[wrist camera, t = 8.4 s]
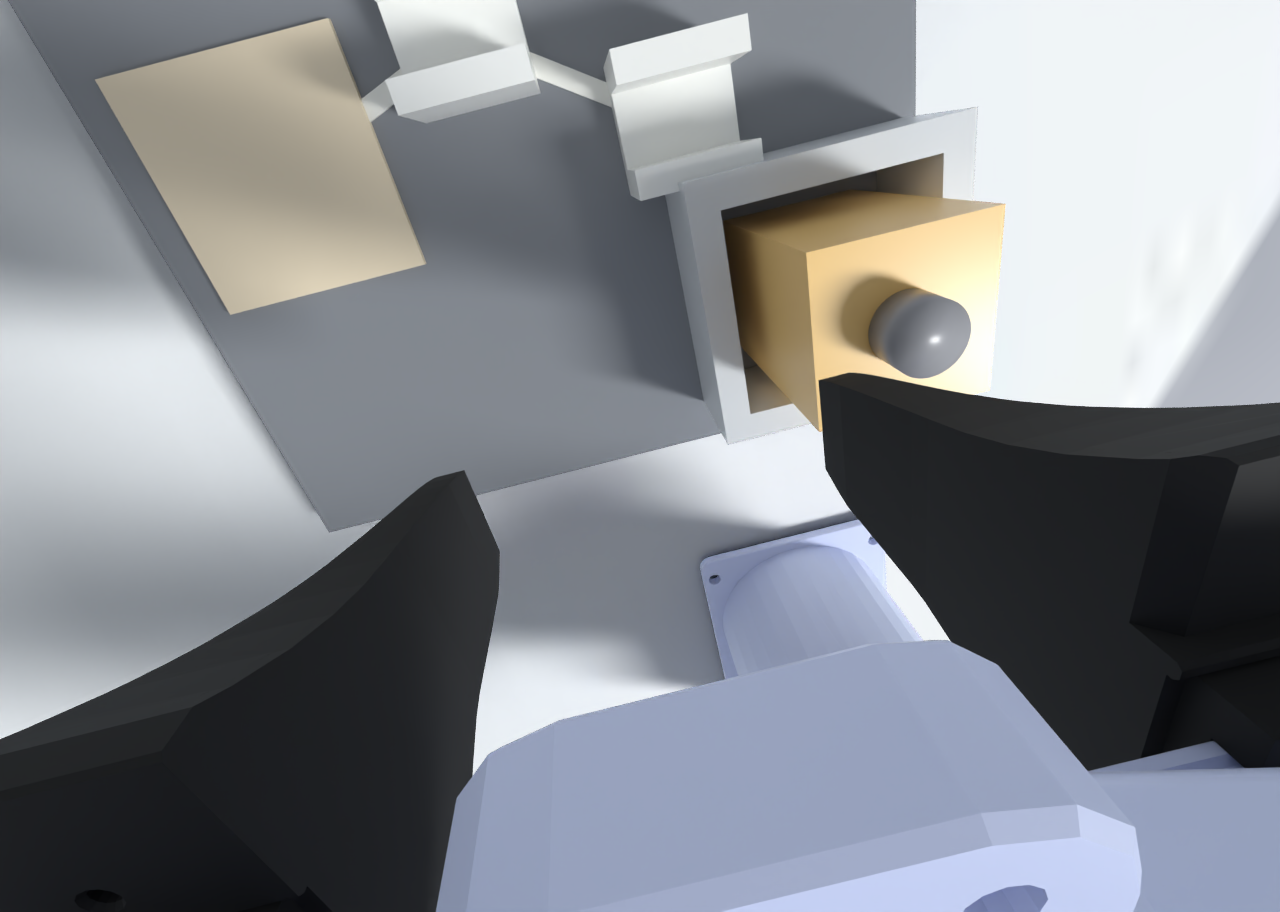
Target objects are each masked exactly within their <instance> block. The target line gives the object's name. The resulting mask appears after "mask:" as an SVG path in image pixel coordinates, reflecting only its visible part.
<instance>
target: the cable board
mask: <svg viewBox="0 0 1280 912" xmlns="http://www.w3.org/2000/svg"><path fill="white" fill-rule="evenodd" d="M8 1H9V3H10V4H11V6H12V8H13V9H14V11H15V13H16V14H17V16H18V18H19V19H20V21H21V23H22V24H23V26H24V28H25V29H26V31H27V33H28V34H29V36H30V38H31V39H32V41H33V43H34V44H35V46H36V48H37V49H38V51H39V52H40V54H41V56H42V57H43V59H44V61H45V62H46V64H47V66H48V67H49V69H50V71H51V72H52V74H53V76H54V77H55V79H56V81H57V82H58V84H59V86H60V87H61V89H62V91H63V92H64V94H65V96H66V97H67V99H68V101H69V102H70V104H71V105H72V107H73V109H74V110H75V112H76V114H77V115H78V117H79V119H80V120H81V122H82V124H83V125H84V127H85V129H86V130H87V132H88V134H89V135H90V137H91V139H92V140H93V142H94V144H95V145H96V147H97V149H98V150H99V152H100V154H101V155H102V157H103V158H104V160H105V162H106V163H107V165H108V167H109V168H110V170H111V172H112V173H113V175H114V177H115V178H116V180H117V182H118V183H119V185H120V187H121V188H122V190H123V192H124V193H125V195H126V197H127V198H128V200H129V202H130V203H131V205H132V207H133V208H134V210H135V211H136V213H137V215H138V216H139V218H140V220H141V221H142V223H143V225H144V226H145V228H146V230H147V231H148V233H149V235H150V236H151V238H152V240H153V241H154V243H155V245H156V246H157V248H158V250H159V251H160V253H161V255H162V256H163V258H164V260H165V261H166V263H167V265H168V266H169V268H170V269H171V271H172V273H173V274H174V276H175V278H176V279H177V281H178V283H179V284H180V286H181V288H182V289H183V291H184V293H185V294H186V296H187V298H188V299H189V301H190V303H191V304H192V306H193V308H194V309H195V311H196V313H197V314H198V316H199V318H200V319H201V321H202V322H203V324H204V326H205V327H206V329H207V331H208V332H209V334H210V336H211V337H212V339H213V341H214V342H215V344H216V346H217V347H218V349H219V351H220V352H221V354H222V356H223V357H224V359H225V361H226V362H227V364H228V366H229V367H230V369H231V371H232V372H233V374H234V375H235V377H236V379H237V380H238V382H239V384H240V385H241V387H242V389H243V390H244V392H245V394H246V395H247V397H248V399H249V400H250V402H251V404H252V405H253V407H254V409H255V410H256V412H257V414H258V415H259V417H260V419H261V420H262V422H263V424H264V425H265V427H266V428H267V430H268V432H269V433H270V435H271V437H272V438H273V440H274V442H275V443H276V445H277V447H278V448H279V450H280V452H281V453H282V455H283V457H284V458H285V460H286V462H287V463H288V465H289V467H290V468H291V470H292V472H293V473H294V475H295V477H296V478H297V480H298V482H299V483H300V485H301V486H302V488H303V490H304V491H305V493H306V495H307V496H308V498H309V500H310V501H311V503H312V505H313V506H314V508H315V510H316V511H317V513H318V515H319V516H320V518H321V520H322V521H323V523H324V525H325V526H326V528H327V530H328V531H329V532H333V531H337V530H341V529H345V528H348V527H352V526H356V525H360V524H364V523H368V522H372V521H376V520H380V519H383V518H384V517H386V516H387V515H388V514H389V513H390V512H391V511H393V510H394V509H395V508H396V507H397V506H398V505H400V504H401V503H402V502H403V501H404V500H405V499H407V498H408V497H409V496H410V495H411V494H413V493H414V492H415V491H416V490H417V489H419V488H420V487H421V486H423V485H424V484H425V483H427V482H428V481H430V480H432V479H433V478H435V477H439V476H443V475H447V474H451V473H455V472H459V471H463V470H465V473H466V475H467V477H468V480H469V482H470V484H471V487H472V489H473V491H474V493H475V495H479V494H483V493H487V492H491V491H495V490H499V489H503V488H506V487H510V486H514V485H518V484H522V483H526V482H530V481H534V480H538V479H542V478H546V477H550V476H554V475H558V474H562V473H566V472H570V471H574V470H578V469H582V468H586V467H589V466H593V465H597V464H601V463H605V462H609V461H613V460H617V459H621V458H625V457H629V456H633V455H637V454H641V453H645V452H649V451H653V450H657V449H661V448H665V447H668V446H672V445H676V444H680V443H684V442H688V441H692V440H696V439H700V438H704V437H708V436H712V435H716V434H720V433H722V435H723V437H724V438H725V440H726V442H727V444H728V445H729V444H733V443H737V442H741V441H745V440H749V439H753V438H757V437H761V436H765V435H769V434H773V433H776V432H780V431H784V430H788V429H792V428H796V427H800V426H804V425H808V424H811V422H810V421H809V420H808V419H807V418H806V417H805V416H804V415H803V414H802V413H801V412H800V410H799V409H798V408H797V407H796V406H795V405H794V404H793V403H792V402H791V401H790V400H789V398H788V397H787V396H786V395H785V394H784V393H783V392H782V391H781V390H780V389H779V388H778V387H777V385H776V384H775V383H774V382H773V381H772V380H771V379H770V378H769V377H768V376H767V375H766V373H765V372H764V371H763V370H762V369H761V368H760V367H759V366H758V365H757V364H756V363H755V361H754V360H753V359H752V358H751V357H750V356H749V355H748V354H747V353H746V352H745V351H744V349H743V348H742V347H741V346H740V339H739V332H738V325H737V319H736V312H735V305H734V298H733V291H732V285H731V278H730V271H729V263H728V256H727V249H726V241H725V234H724V227H723V221H724V220H728V219H732V218H736V217H740V216H745V215H749V214H753V213H757V212H761V211H765V210H769V209H773V208H777V207H781V206H785V205H789V204H793V203H797V202H801V201H805V200H810V199H814V198H818V197H822V196H826V195H830V194H834V193H838V192H842V191H846V190H850V189H851V190H862V191H873V192H883V193H894V194H905V195H916V196H926V197H937V198H948V199H959V200H970V201H973V196H974V176H975V155H976V135H977V115H978V107H974V108H967V109H960V110H953V111H946V112H938V113H931V114H924V115H917V116H915V92H916V0H8Z"/></svg>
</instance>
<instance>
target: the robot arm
mask: <svg viewBox="0 0 1280 912" xmlns="http://www.w3.org/2000/svg"><path fill="white" fill-rule="evenodd" d="M818 381H819V393H820V406H821V418H822V430H823V442H824V455H825V467H826V470H827V472H828V474H829V476H830V477H831V479H832V481H833V483H834V484H835V486H836V488H837V490H838V491H839V493H840V495H841V496H842V498H843V499H844V501H845V503H846V504H847V506H848V507H849V508H850V510H851V511H852V512H853V513H854V515H855V516H856V517H857V518H858V520H854V521H850V522H846V523H842V524H838V525H834V526H830V527H826V528H822V529H818V530H814V531H810V532H806V533H802V534H798V535H794V536H790V537H786V538H782V539H778V540H774V541H770V542H766V543H762V544H758V545H754V546H750V547H746V548H742V549H738V550H734V551H730V552H726V553H722V554H718V555H714V556H710V557H707V558H705V559H704V560H703V561H702V562H701V564H700V571H701V576H702V580H703V584H704V589H705V593H706V598H707V602H708V606H709V611H710V615H711V620H712V624H713V629H714V633H715V637H716V642H717V646H718V651H719V655H720V659H721V664H722V668H723V673H724V677H725V679H724V680H720V681H716V682H712V683H708V684H704V685H700V686H696V687H692V688H688V689H684V690H680V691H676V692H672V693H668V694H664V695H659V696H655V697H651V698H647V699H643V700H639V701H635V702H631V703H627V704H623V705H619V706H615V707H611V708H607V709H603V710H599V711H595V712H591V713H587V714H583V715H579V716H575V717H571V718H567V719H563V720H559V721H557V722H554V723H552V724H550V725H548V726H546V727H544V728H541V729H539V730H537V731H535V732H533V733H531V734H528V735H526V736H524V737H522V738H520V739H518V740H515V741H513V742H511V743H509V744H507V745H505V746H502V747H501V748H499V749H497V750H495V751H493V752H492V753H490V754H488V756H487V757H486V758H485V760H484V761H483V763H482V764H481V765H480V767H479V768H478V769H477V771H476V772H475V774H474V775H473V776H472V773H473V757H474V743H475V730H476V716H477V708H478V701H479V694H480V688H481V683H482V678H483V673H484V667H485V662H486V657H487V652H488V647H489V641H490V636H491V631H492V626H493V620H494V615H495V609H496V604H497V598H498V589H499V549H498V546H497V544H496V542H495V539H494V537H493V535H492V533H491V530H490V528H489V526H488V523H487V521H486V519H485V516H484V514H483V512H482V510H481V507H480V505H479V503H478V500H477V498H476V496H475V493H474V491H473V489H472V487H471V484H470V482H469V480H468V477H467V475H466V473H465V470H463V471H459V472H455V473H451V474H447V475H443V476H439V477H435V478H433V479H432V480H430V481H428V482H427V483H425V484H424V485H423V486H421V487H420V488H419V489H417V490H416V491H415V492H414V493H413V494H411V495H410V496H409V497H408V498H407V499H405V500H404V501H403V502H402V503H401V504H400V505H398V506H397V507H396V508H395V509H394V510H393V511H391V512H390V513H389V514H388V515H387V516H386V517H384V518H383V519H382V520H381V521H380V522H379V523H377V524H376V525H375V526H374V527H373V528H372V529H370V530H369V531H368V532H367V533H366V534H365V535H363V536H362V537H361V538H360V539H358V540H357V541H356V542H355V543H353V544H352V545H351V546H350V547H348V548H347V549H346V550H345V551H343V552H342V553H341V554H340V555H338V556H337V557H336V558H335V559H333V560H332V561H331V562H330V563H328V564H327V565H326V566H325V567H323V568H322V569H321V570H319V571H318V572H317V573H315V574H314V575H312V576H311V577H310V578H308V579H307V580H305V581H304V582H303V583H301V584H300V585H298V586H297V587H295V588H294V589H292V590H291V591H289V592H288V593H286V594H285V595H284V596H282V597H281V598H279V599H278V600H276V601H275V602H273V603H272V604H270V605H268V606H267V607H265V608H264V609H262V610H260V611H259V612H257V613H255V614H254V615H252V616H250V617H249V618H247V619H245V620H243V621H242V622H240V623H238V624H237V625H235V626H233V627H232V628H230V629H228V630H227V631H225V632H223V633H222V634H220V635H218V636H216V637H215V638H213V639H211V640H210V641H208V642H206V643H204V644H203V645H201V646H199V647H197V648H195V649H193V650H191V651H190V652H188V653H186V654H184V655H182V656H180V657H178V658H176V659H174V660H173V661H171V662H169V663H167V664H165V665H163V666H161V667H159V668H157V669H155V670H153V671H151V672H149V673H147V674H145V675H143V676H141V677H139V678H137V679H135V680H133V681H131V682H129V683H127V684H125V685H122V686H120V687H118V688H116V689H114V690H112V691H110V692H108V693H106V694H103V695H101V696H99V697H97V698H94V699H92V700H90V701H88V702H85V703H83V704H81V705H78V706H76V707H74V708H72V709H69V710H67V711H65V712H63V713H60V714H58V715H56V716H54V717H51V718H49V719H47V720H44V721H42V722H40V723H38V724H35V725H33V726H31V727H29V728H26V729H24V730H22V731H19V732H17V733H14V734H12V735H10V736H7V737H5V738H2V739H0V912H1280V403H1269V404H1256V405H1238V406H1213V407H1190V408H1189V407H1187V408H1119V407H1085V406H1066V405H1054V404H1043V403H1032V402H1021V401H1012V400H1004V399H997V398H991V397H984V396H978V395H972V394H965V393H960V392H954V391H949V390H944V389H939V388H933V387H929V386H924V385H919V384H914V383H909V382H905V381H900V380H895V379H890V378H886V377H881V376H875V375H869V374H863V373H845V374H841V375H837V376H833V377H829V378H825V379H821V380H818ZM871 536H872V537H873V538H872V539H869V538H870V537H871ZM886 554H887V555H888V556H889V557H890V558H891V560H892V561H893V562H894V563H895V564H896V566H897V567H898V568H899V569H900V570H901V572H902V573H903V574H904V575H905V577H906V578H907V579H908V580H909V581H910V583H911V584H912V585H913V586H914V588H915V589H916V590H917V592H918V593H919V594H920V596H921V597H922V598H923V600H924V601H925V602H926V604H927V605H928V607H929V608H930V610H931V612H932V613H933V615H934V616H935V618H936V619H937V621H938V622H939V624H940V625H941V627H942V628H943V630H944V632H945V633H946V635H947V636H948V638H949V639H950V641H951V642H950V641H948V640H928V641H923V639H922V638H921V636H920V635H919V634H918V632H917V631H916V630H915V628H914V627H913V626H912V624H911V623H910V622H909V620H908V619H907V617H906V616H905V615H904V613H903V612H902V611H901V609H900V608H899V607H898V605H897V604H896V602H895V601H894V600H893V598H892V597H891V596H890V594H889V593H888V592H887V590H886ZM713 575H718V576H717V577H716V578H714V579H710V577H711V576H713Z"/></svg>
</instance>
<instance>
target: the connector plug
mask: <svg viewBox="0 0 1280 912" xmlns="http://www.w3.org/2000/svg"><path fill="white" fill-rule="evenodd" d="M1004 216H1005V204H1002V203H991V202H980V201H970V200H959V199H948V198H937V197H926V196H916V195H905V194H894V193H883V192H873V191H862V190H851V189H850V190H846V191H842V192H838V193H834V194H830V195H826V196H822V197H818V198H814V199H810V200H805V201H801V202H797V203H793V204H789V205H785V206H781V207H777V208H773V209H769V210H765V211H761V212H757V213H753V214H749V215H745V216H740V217H736V218H732V219H728V220H724V221H723V227H724V234H725V241H726V249H727V256H728V263H729V271H730V278H731V285H732V291H733V298H734V305H735V312H736V319H737V325H738V332H739V339H740V346H741V347H742V348H743V349H744V351H745V352H746V353H747V354H748V355H749V356H750V357H751V358H752V359H753V360H754V361H755V363H756V364H757V365H758V366H759V367H760V368H761V369H762V370H763V371H764V372H765V373H766V375H767V376H768V377H769V378H770V379H771V380H772V381H773V382H774V383H775V384H776V385H777V387H778V388H779V389H780V390H781V391H782V392H783V393H784V394H785V395H786V396H787V397H788V398H789V400H790V401H791V402H792V403H793V404H794V405H795V406H796V407H797V408H798V409H799V410H800V412H801V413H802V414H803V415H804V416H805V417H806V418H807V419H808V420H809V421H810V422H811V424H812V425H813V426H814V427H815V428H816V429H817V430H818V431H819V432H821V431H823V430H822V418H821V406H820V393H819V381H818V380H821V379H825V378H829V377H833V376H837V375H841V374H845V373H863V374H869V375H875V376H881V377H886V378H890V379H895V380H900V381H905V382H909V383H914V384H919V385H924V386H929V387H933V388H939V389H944V390H949V391H954V392H960V393H965V394H972V395H974V394H978V393H982V392H986V391H990V383H991V371H992V359H993V347H994V335H995V323H996V311H997V299H998V287H999V275H1000V263H1001V251H1002V239H1003V227H1004Z"/></svg>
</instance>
